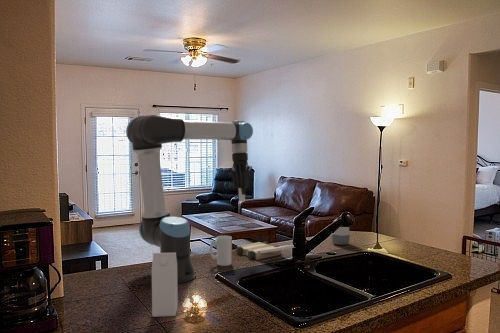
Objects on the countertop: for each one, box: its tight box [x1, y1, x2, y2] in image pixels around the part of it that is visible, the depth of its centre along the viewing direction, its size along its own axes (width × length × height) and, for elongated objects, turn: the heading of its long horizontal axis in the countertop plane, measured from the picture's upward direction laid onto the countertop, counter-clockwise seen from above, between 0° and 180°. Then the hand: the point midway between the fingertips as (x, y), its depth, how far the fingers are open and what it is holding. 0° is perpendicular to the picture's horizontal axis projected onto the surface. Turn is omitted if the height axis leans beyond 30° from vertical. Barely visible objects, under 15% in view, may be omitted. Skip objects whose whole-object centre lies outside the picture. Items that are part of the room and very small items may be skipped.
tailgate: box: [258, 244, 295, 253], centre depth 185 cm, size 1×14×14 cm
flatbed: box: [235, 241, 282, 261], centre depth 198 cm, size 16×17×4 cm
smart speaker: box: [331, 218, 351, 246], centre depth 216 cm, size 10×9×14 cm
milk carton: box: [151, 252, 179, 318], centre depth 129 cm, size 7×7×19 cm
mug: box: [209, 235, 233, 267], centre depth 180 cm, size 10×7×12 cm, turn 112°
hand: (242, 201), depth 196 cm, fingers closed
